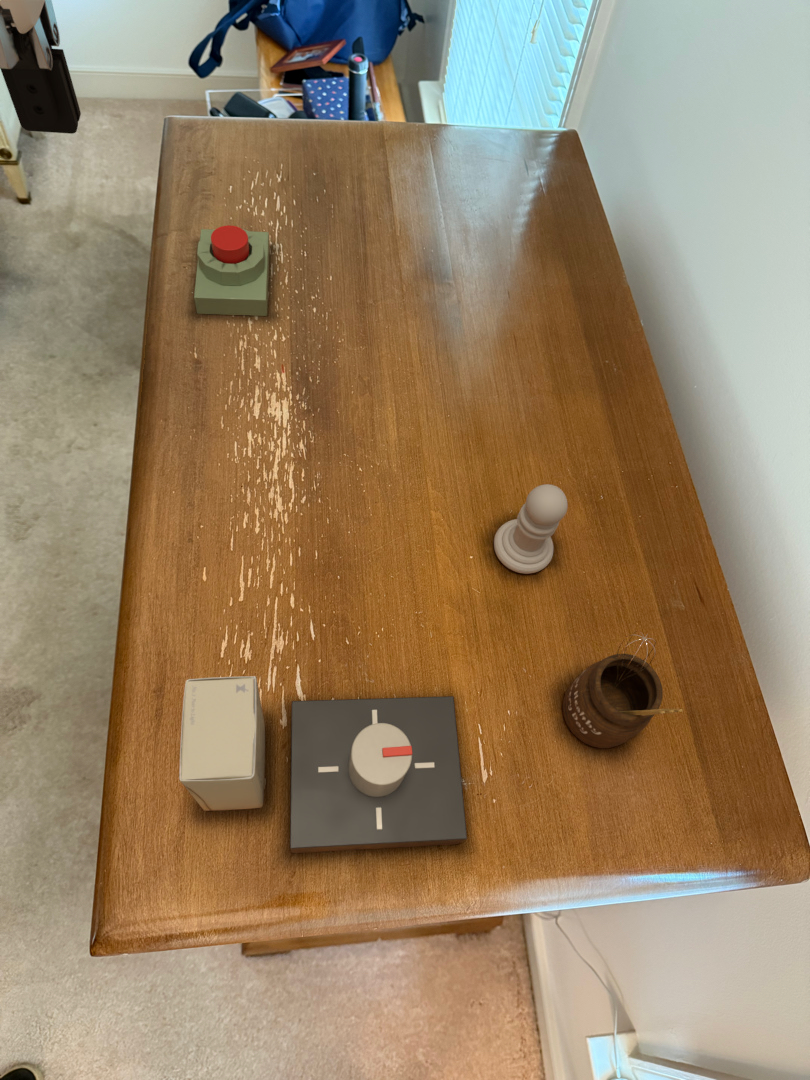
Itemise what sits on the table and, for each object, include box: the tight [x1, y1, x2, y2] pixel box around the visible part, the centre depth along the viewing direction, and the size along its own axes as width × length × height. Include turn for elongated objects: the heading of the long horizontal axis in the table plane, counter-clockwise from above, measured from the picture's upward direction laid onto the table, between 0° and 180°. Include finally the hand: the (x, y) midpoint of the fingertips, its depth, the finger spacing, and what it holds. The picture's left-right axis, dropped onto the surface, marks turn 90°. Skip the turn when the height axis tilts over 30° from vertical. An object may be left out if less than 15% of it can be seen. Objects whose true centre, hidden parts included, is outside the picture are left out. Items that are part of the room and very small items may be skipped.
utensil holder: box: [562, 630, 684, 749], centre depth 53 cm, size 6×6×12 cm
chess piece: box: [493, 483, 569, 575], centre depth 61 cm, size 5×5×9 cm
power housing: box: [193, 227, 271, 317], centre depth 75 cm, size 7×10×4 cm
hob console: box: [289, 695, 468, 854], centre depth 53 cm, size 12×10×3 cm
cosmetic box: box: [178, 675, 266, 812], centre depth 48 cm, size 6×4×12 cm
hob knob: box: [349, 723, 412, 797], centre depth 50 cm, size 4×4×5 cm
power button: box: [211, 224, 249, 264], centre depth 73 cm, size 4×4×2 cm
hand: (52, 123), depth 45 cm, fingers closed
